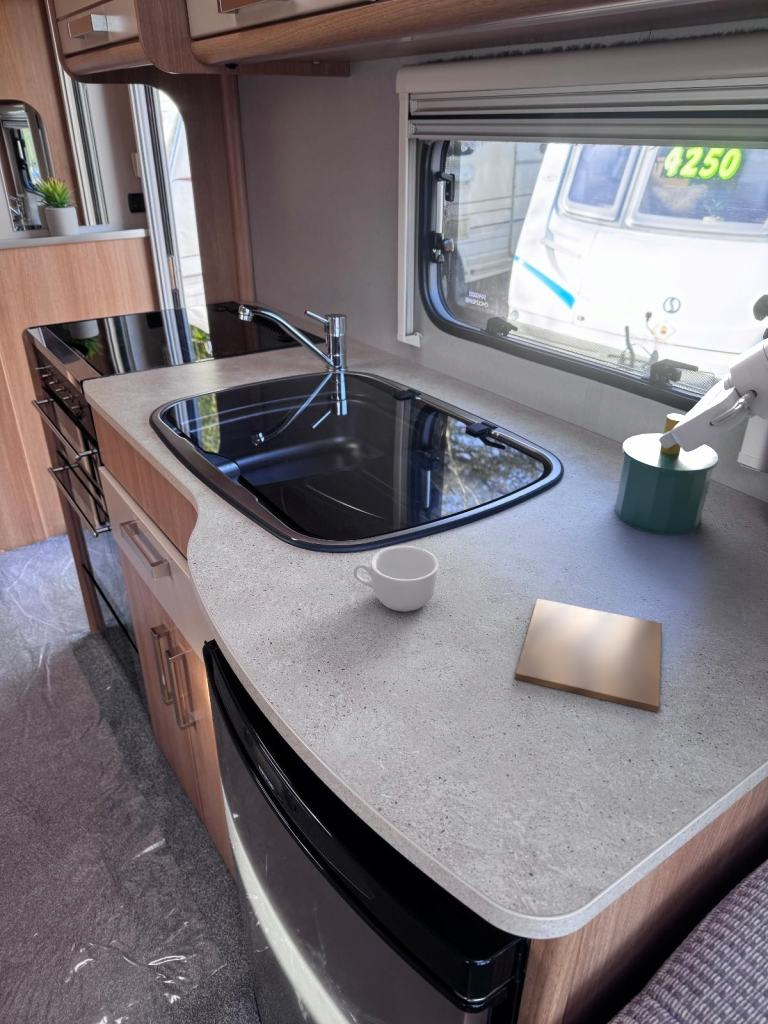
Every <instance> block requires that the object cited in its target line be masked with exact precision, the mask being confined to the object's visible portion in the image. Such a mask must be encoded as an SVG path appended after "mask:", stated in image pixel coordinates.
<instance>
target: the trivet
mask: <svg viewBox="0 0 768 1024" xmlns="http://www.w3.org/2000/svg"><path fill="white" fill-rule="evenodd" d="M534 603H535V604H534V607H533V610H532V614H531V617H530V621H529V624H528V628H527V630H526V634H525V637H524V641H523V644H522V648H521V652H520V656H519V659H518V663H517V666H516V669H515V673H514V680H517V681H521V682H526V683H530V684H534V685H539V686H543V687H547V688H551V689H556V690H560V691H565V692H569V693H573V694H576V695H581V696H585V697H589V698H590V697H591V698H594V699H598V700H603V701H608V702H611V703H616V704H619V705H624V706H629V707H633V708H637V709H641V710H647V711H650V712H654V713H659V710H660V706H661V704H660V702H661V669H662V668H661V667H662V665H661V662H662V624H663V623H662V622H658V621H652V620H648V619H644V618H638V617H633V616H628V615H624V614H618V613H613V612H608V611H603V610H599V609H593V608H587V607H582V606H577V605H573V604H567V603H563V602H558V601H553V600H547V599H542V598H538V597H537V598H536V600H535V602H534Z"/></svg>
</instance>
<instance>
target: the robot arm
mask: <svg viewBox="0 0 768 1024" xmlns="http://www.w3.org/2000/svg"><path fill="white" fill-rule="evenodd" d="M728 371H729V373H728V374H726V375H724V377H723V379H722V380H720V381H719V382H717V383H716V384H715V385H714V386H713V387H711V388H710V389H709V391H708V392H707V393H706V394H704V396H703V397H701V398H700V400H699V401H697V403H696V404H695V405H694V406H693V407H692V408H691V409H690V410H689V411H688V412H687V413H686V414H685V415H684V416H685V417H684V418H683V419H682V420H681V421H680V422H679V423H678V424H677V425H676V426H675V427H674V428H673V429H672V430H670V431H668V432H667V433H665V434H663V433H662V434H663V435H662V436H661V437H660V438H659V442H660V443H661V445H662V446H663V447H664V448H665V449H667V448H670V447H671V446H673V445H675V444H677V443H678V444H679V445H680V446H681V448H682V449H683V450H684V451H685V452H690V451H693V450H695V449H697V448H699V447H701V446H703V445H704V444H705V445H707V444H708V443H709V442H712V441H713V440H714V439H717V438H718V437H720V436H722V435H723V434H725V433H727V432H729V430H731V429H732V428H734V427H736V426H737V425H739V424H740V423H741V422H743V420H744V419H745V418H747V419H753V418H755V417H756V416H757V417H759V418H760V419H762V420H765V421H768V338H766V339H764V340H763V341H761V342H759V343H758V344H755V346H753V347H752V348H749V349H748V350H746V351H745V352H743V353H742V354H740V355H738V356H737V357H735V358H733V359H732V360H731V361H730V362H729V364H728Z"/></svg>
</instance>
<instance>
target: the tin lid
mask: <svg viewBox="0 0 768 1024" xmlns="http://www.w3.org/2000/svg"><path fill="white" fill-rule="evenodd" d="M685 416H686V415H683V414H679V413H669V414H667V415H666V419H665V424H664V429H663V433H644V434H638V435H633V436H631V437H628V438H627V439H625V441H624V442H623V443H622V446H621V450H622V454H623V455H625V456H626V457H627V458H628V459H629V460H631V461H632V462H634V463H636V464H638V465H640V466H643V467H645V468H648V469H652V470H655V471H660V472H665V473H672V474H699V473H704V472H708V471H710V470H712V469H713V470H714V469H715V468H716V467H718V463H719V460H720V459H719V455H718V453H717V452H716V451H715V450H714V449H713V448H712V447H710V446H709V445H707V444H704V445H703V446H701V447H699V448H697V449H695V450H693V451H690V452H685V451H684V450H683V449H682V448H681V446H680V445H679V444H678V443H677V444H675V445H673V446H671V447H670V448H667V449H665V448H664V447H663V446H662V445H661V443H660V442H659V438H660V437H661V436H662V435H663V434H665V433H667V432H668V431H670V430H672V429H673V428H674V427H675V426H676V425H677V424H678V423H679V422H680V421H681V420H682V419H683V418H684V417H685Z"/></svg>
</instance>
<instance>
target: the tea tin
mask: <svg viewBox="0 0 768 1024" xmlns="http://www.w3.org/2000/svg"><path fill="white" fill-rule="evenodd" d="M623 455H624V454H623ZM713 470H714V469H712V470H710V471H708V472H704V473H699V474H672V473H665V472H660V471H655V470H652V469H648V468H645V467H643V466H640V465H638V464H636V463H634V462H632V461H631V460H629V459H628V458H627V457H626V456H625V455H624V456H623V461H622V467H621V473H620V478H619V484H618V488H617V494H616V498H615V499H616V501H615V505H614V511H615V514H616V516H617V517H618V518H619V519H620V520H621V521H622V522H624V523H625V524H626V525H628V526H629V527H632V528H635V529H637V530H640V531H643V532H647V533H650V534H657V535H666V536H667V535H668V536H670V535H671V536H672V535H673V536H675V535H683V534H687V533H690V532H692V531H694V530H696V529H697V528H698V526H699V524H700V522H701V519H702V515H703V510H704V507H705V502H706V500H707V499H706V498H707V496H708V495H707V494H708V491H709V486H710V483H711V478H712V475H713Z"/></svg>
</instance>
